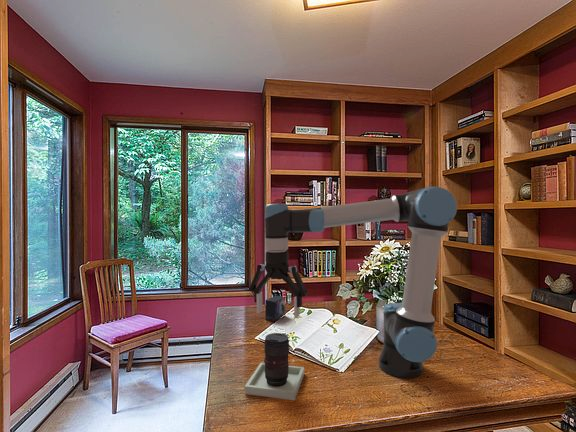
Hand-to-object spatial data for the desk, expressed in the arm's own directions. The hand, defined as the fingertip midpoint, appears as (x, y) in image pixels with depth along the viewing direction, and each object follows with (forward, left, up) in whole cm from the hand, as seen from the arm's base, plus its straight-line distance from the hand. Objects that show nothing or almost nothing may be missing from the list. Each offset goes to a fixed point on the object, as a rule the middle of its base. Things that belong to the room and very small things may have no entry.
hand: (277, 314), depth 108 cm
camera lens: (0, +1, -22) cm, 22 cm away
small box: (+28, -57, -23) cm, 68 cm away
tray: (0, +1, -23) cm, 23 cm away
